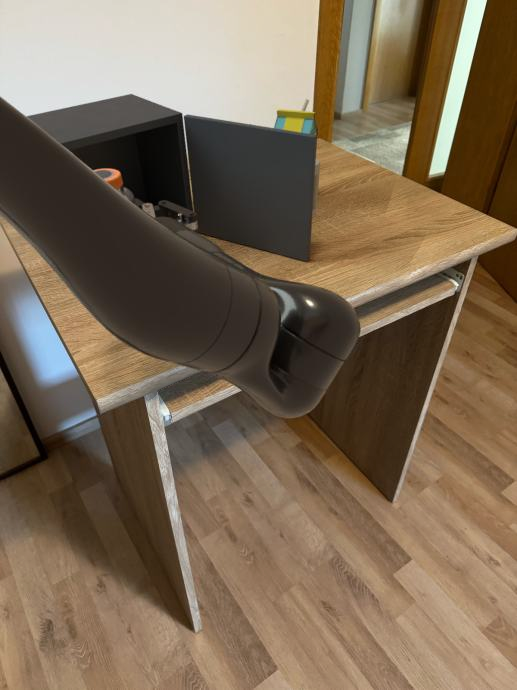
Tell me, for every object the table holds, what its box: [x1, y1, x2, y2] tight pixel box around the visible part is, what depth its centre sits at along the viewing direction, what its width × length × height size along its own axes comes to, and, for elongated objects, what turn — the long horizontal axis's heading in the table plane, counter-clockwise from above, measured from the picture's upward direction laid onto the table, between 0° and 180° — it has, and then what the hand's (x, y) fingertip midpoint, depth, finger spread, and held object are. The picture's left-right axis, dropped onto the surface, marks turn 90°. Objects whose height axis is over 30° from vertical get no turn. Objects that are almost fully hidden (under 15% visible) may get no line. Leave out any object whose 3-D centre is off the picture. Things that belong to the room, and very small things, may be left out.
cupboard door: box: [183, 114, 321, 262], centre depth 80 cm, size 6×22×20 cm, turn 61°
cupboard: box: [25, 93, 194, 214], centre depth 83 cm, size 16×22×20 cm
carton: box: [273, 98, 319, 150], centre depth 94 cm, size 7×8×18 cm
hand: (102, 212), depth 57 cm, fingers closed on pill bottle, 6 cm apart
